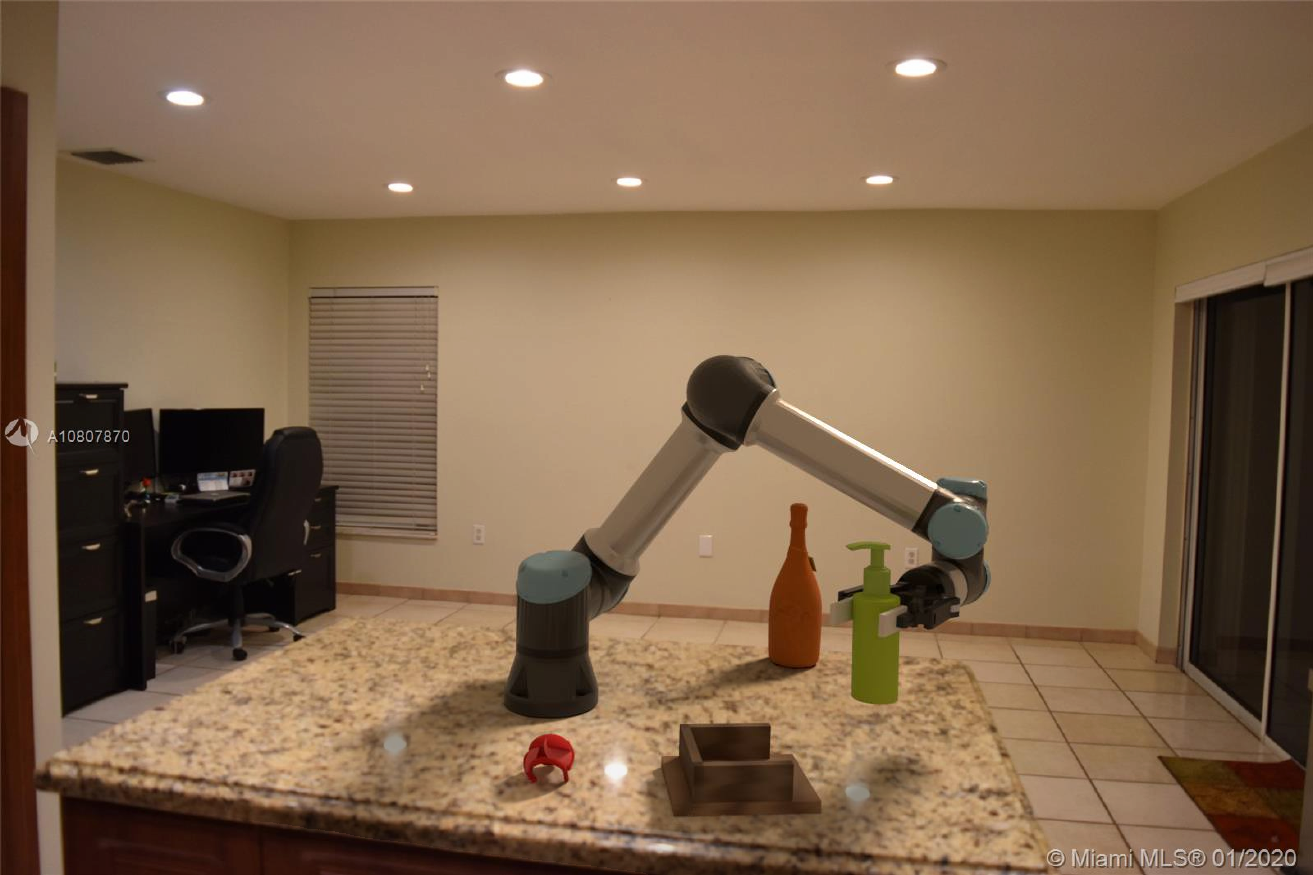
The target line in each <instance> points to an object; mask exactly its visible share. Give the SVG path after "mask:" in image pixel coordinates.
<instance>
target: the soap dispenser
mask: <svg viewBox="0 0 1313 875" xmlns="http://www.w3.org/2000/svg"><path fill="white" fill-rule="evenodd" d="M845 547H846V548H847V549H848V550H850V551H859V550H870V565H867V566H866V567H864V568H863V574H862V575H863V578H862V580H863V581H862V582H863V583H862V585H863V592H858V593H855V594H854V595H853V620H852V626H851V627H852V632H851V633H852V635H851V639H852V640H851V676H850V677H851V679H850V680H851V683H850V684H851V685H850V686H851V687H850V695H851V697H852V698H853V699H854V700H855V701H857V702H861V703H864V704H869V705H878V706H879V705H880V706H882V705H891V704H894V703H896V702H897V701H898V700H899V674H900V673H899V670H900V667H899V666H900V664H899V663H900V632H901V630H899V631H897V632H895V633H893V634H891V635H888V636H886V637H879V636H878V631H879V614H881V613H884V612H886V611H889V610H891V609H894V608H896V607H899V606H900V597H899V596H897V595H894V594H891V593H890V585H891V574H892V573H891V569H890V568H888V567H887V565H886V566H885V550H886V551H887V550H888V551H891V545H890V544H889V543H886V542H880V541H856V542H851V543H849V544H846V545H845Z"/></svg>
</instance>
